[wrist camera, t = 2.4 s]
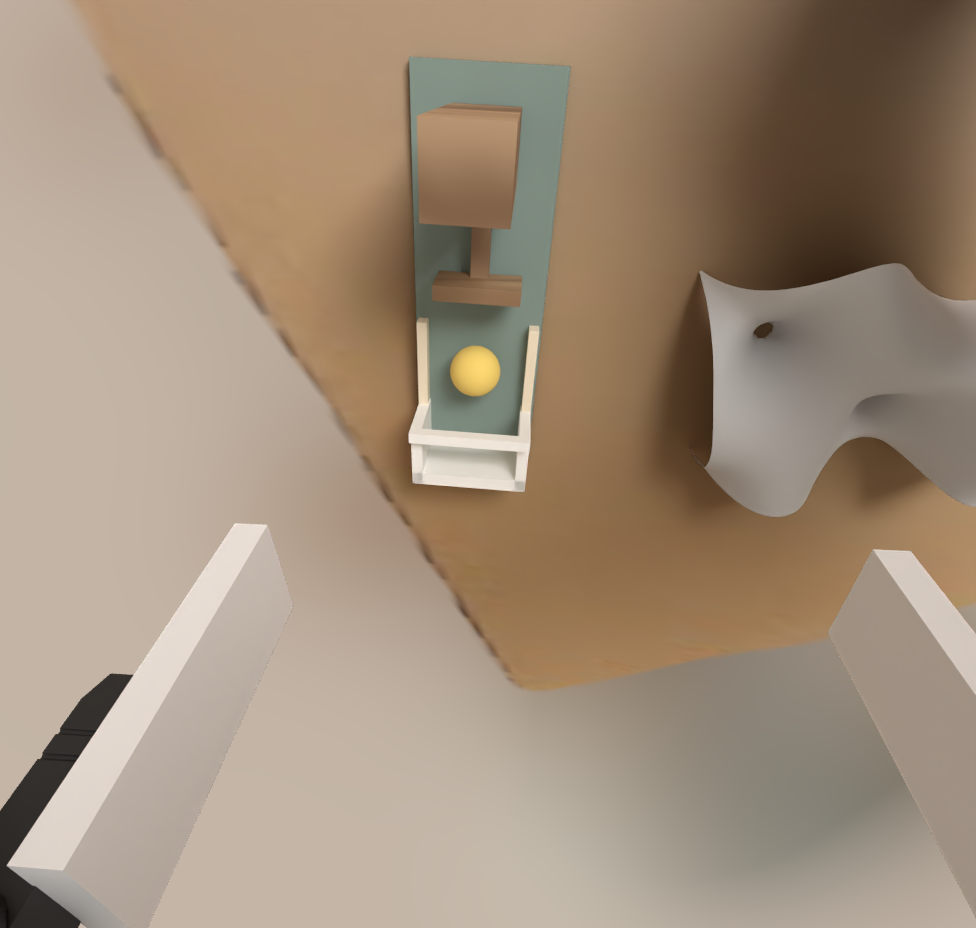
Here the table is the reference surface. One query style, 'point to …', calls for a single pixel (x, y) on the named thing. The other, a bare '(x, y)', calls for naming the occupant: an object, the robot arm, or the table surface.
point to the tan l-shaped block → (470, 191)
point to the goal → (469, 455)
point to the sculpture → (839, 383)
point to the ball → (475, 370)
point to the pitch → (511, 249)
